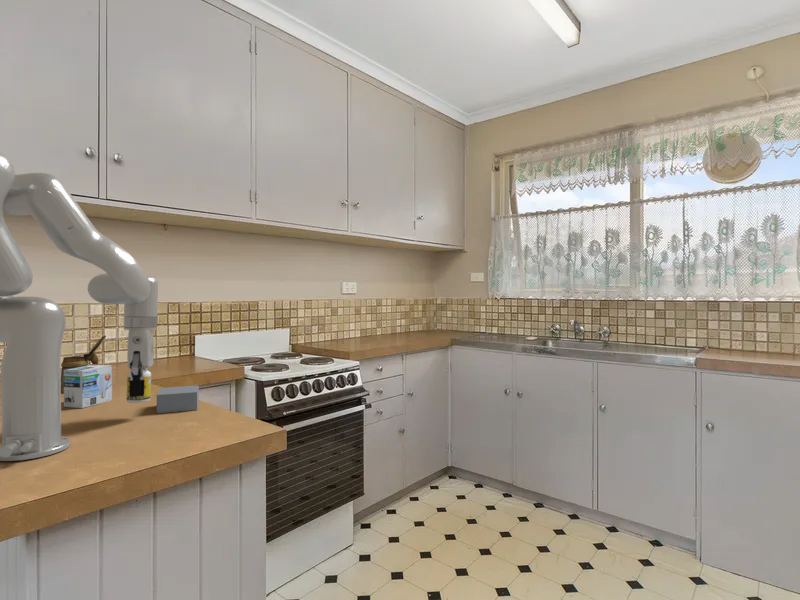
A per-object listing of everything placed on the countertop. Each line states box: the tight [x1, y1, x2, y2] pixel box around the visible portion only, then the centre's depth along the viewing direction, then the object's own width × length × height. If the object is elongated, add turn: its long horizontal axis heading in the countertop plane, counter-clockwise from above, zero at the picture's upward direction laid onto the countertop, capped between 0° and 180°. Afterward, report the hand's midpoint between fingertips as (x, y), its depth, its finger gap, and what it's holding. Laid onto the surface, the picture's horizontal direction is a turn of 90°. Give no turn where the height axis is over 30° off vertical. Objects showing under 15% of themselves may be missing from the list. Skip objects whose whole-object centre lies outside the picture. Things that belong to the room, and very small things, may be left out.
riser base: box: [156, 385, 200, 414], centre depth 131 cm, size 10×10×5 cm
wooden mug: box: [60, 335, 107, 394], centre depth 155 cm, size 9×14×18 cm, turn 127°
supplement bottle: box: [126, 363, 152, 404], centre depth 119 cm, size 5×5×10 cm
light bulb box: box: [63, 364, 113, 409], centre depth 135 cm, size 11×7×11 cm, turn 168°
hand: (138, 393), depth 119 cm, fingers closed on supplement bottle, 5 cm apart
